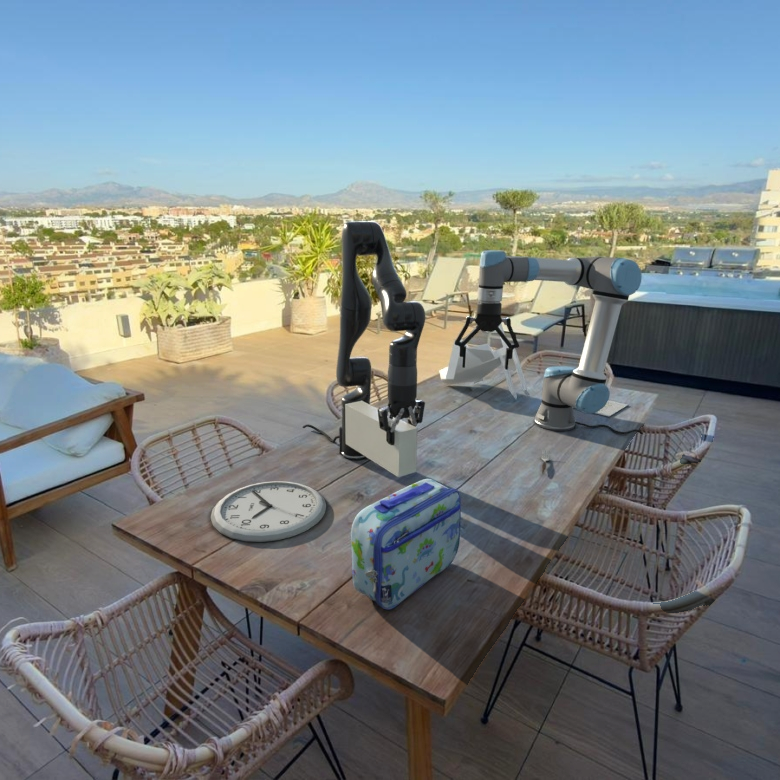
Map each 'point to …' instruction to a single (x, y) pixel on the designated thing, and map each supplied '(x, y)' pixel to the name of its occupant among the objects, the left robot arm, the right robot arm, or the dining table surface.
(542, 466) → the fork
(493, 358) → the white plastic object
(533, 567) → the dining table surface
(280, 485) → the wall clock
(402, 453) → the box
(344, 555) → the dining table surface
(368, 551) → the lunch box
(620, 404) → the invitation card
